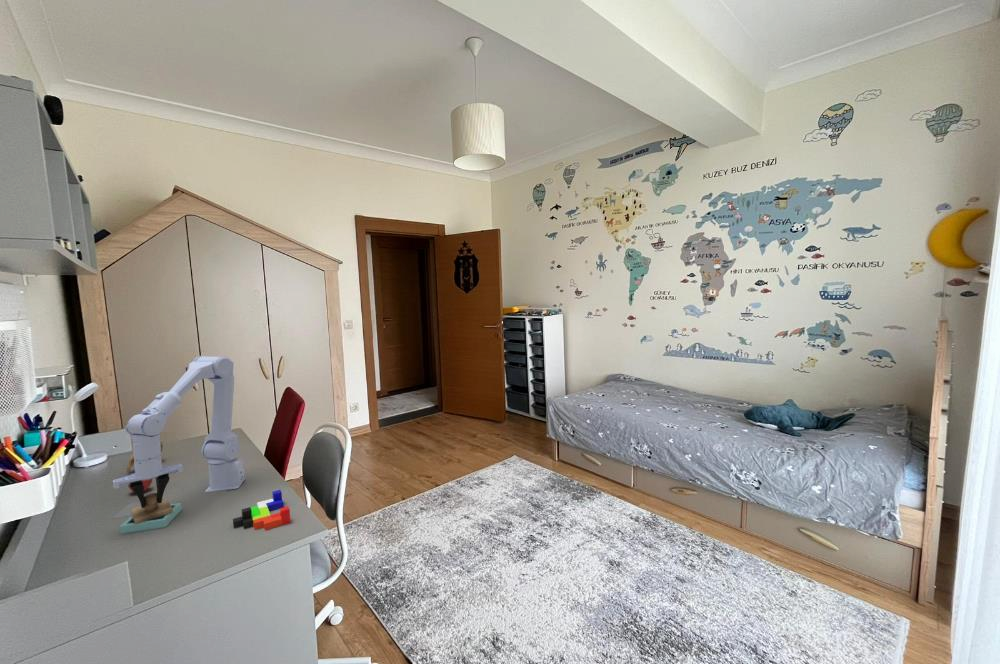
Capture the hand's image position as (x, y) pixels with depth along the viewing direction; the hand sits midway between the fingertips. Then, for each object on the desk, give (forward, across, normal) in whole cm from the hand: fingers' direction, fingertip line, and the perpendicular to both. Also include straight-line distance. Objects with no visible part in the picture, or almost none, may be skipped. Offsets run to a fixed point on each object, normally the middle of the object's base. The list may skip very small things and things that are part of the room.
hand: (151, 504), depth 114 cm
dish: (+5, 0, 0) cm, 5 cm away
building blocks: (+6, -20, +21) cm, 30 cm away
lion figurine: (+6, -5, -52) cm, 53 cm away
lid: (+2, 0, 0) cm, 3 cm away
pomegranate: (+6, -1, -26) cm, 27 cm away
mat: (+5, +1, -12) cm, 13 cm away
